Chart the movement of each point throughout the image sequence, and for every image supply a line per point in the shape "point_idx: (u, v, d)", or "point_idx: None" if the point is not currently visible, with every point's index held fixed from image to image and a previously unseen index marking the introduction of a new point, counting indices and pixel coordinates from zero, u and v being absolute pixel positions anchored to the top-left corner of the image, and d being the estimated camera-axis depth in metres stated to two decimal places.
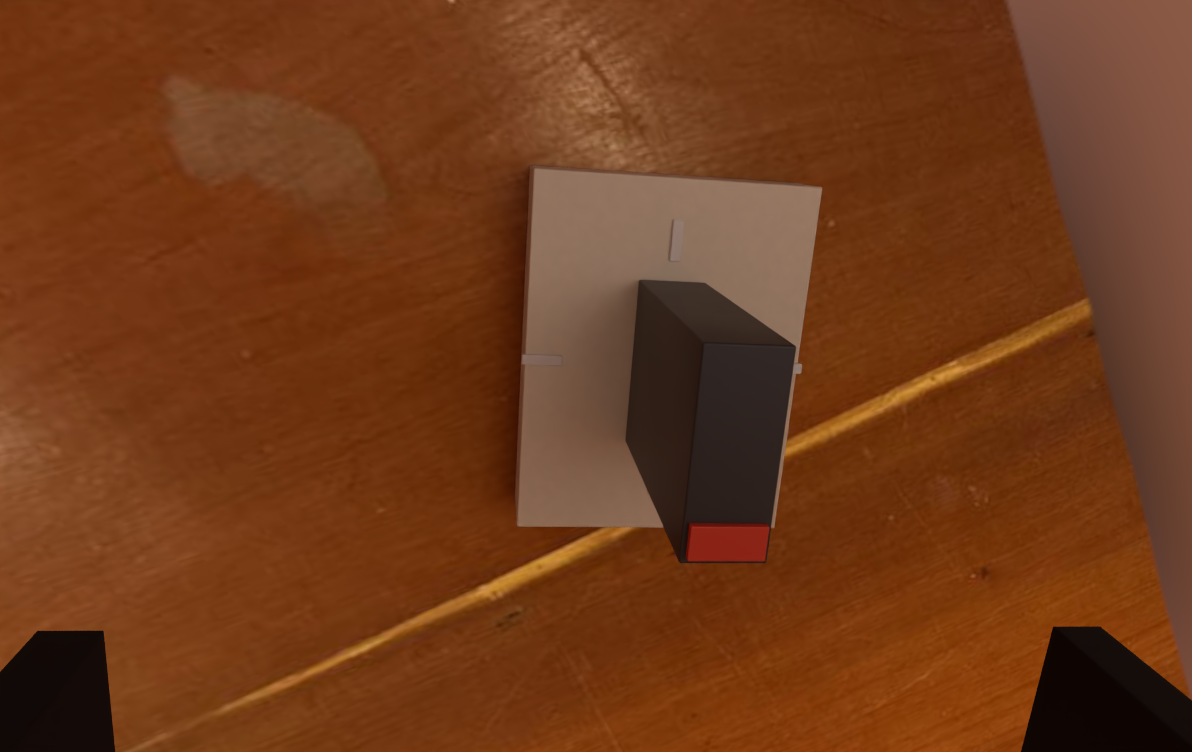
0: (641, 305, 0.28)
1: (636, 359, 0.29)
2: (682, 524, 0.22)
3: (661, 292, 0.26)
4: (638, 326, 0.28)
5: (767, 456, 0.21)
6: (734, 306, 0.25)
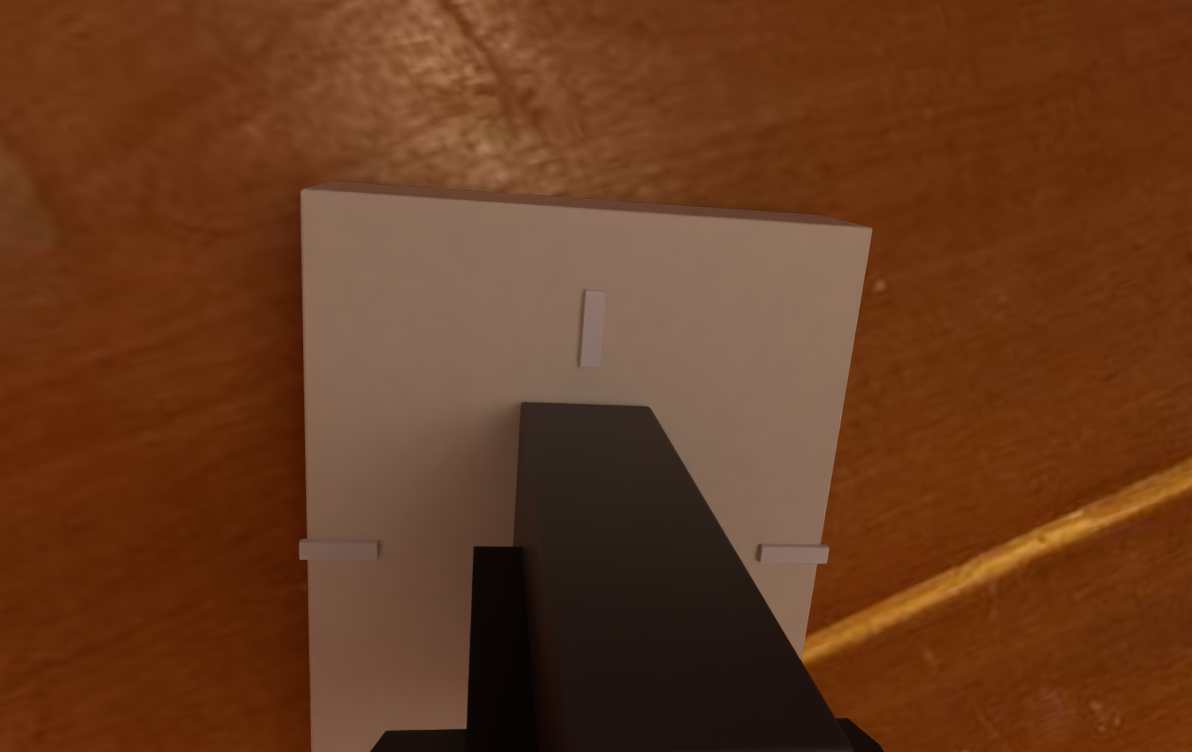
0: (520, 457, 0.14)
1: None
2: None
3: (547, 449, 0.13)
4: (517, 494, 0.15)
5: None
6: (694, 500, 0.11)
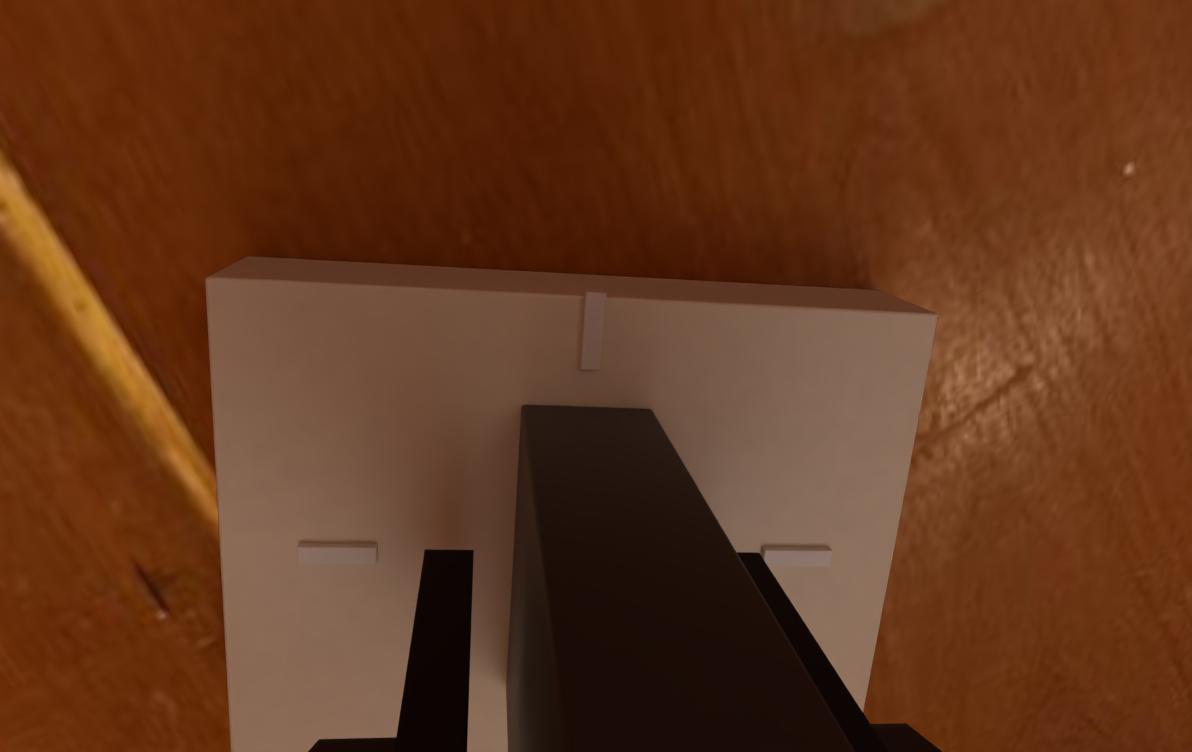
0: (521, 460, 0.14)
1: (515, 559, 0.15)
2: None
3: (548, 453, 0.13)
4: (518, 497, 0.15)
5: None
6: (697, 505, 0.11)
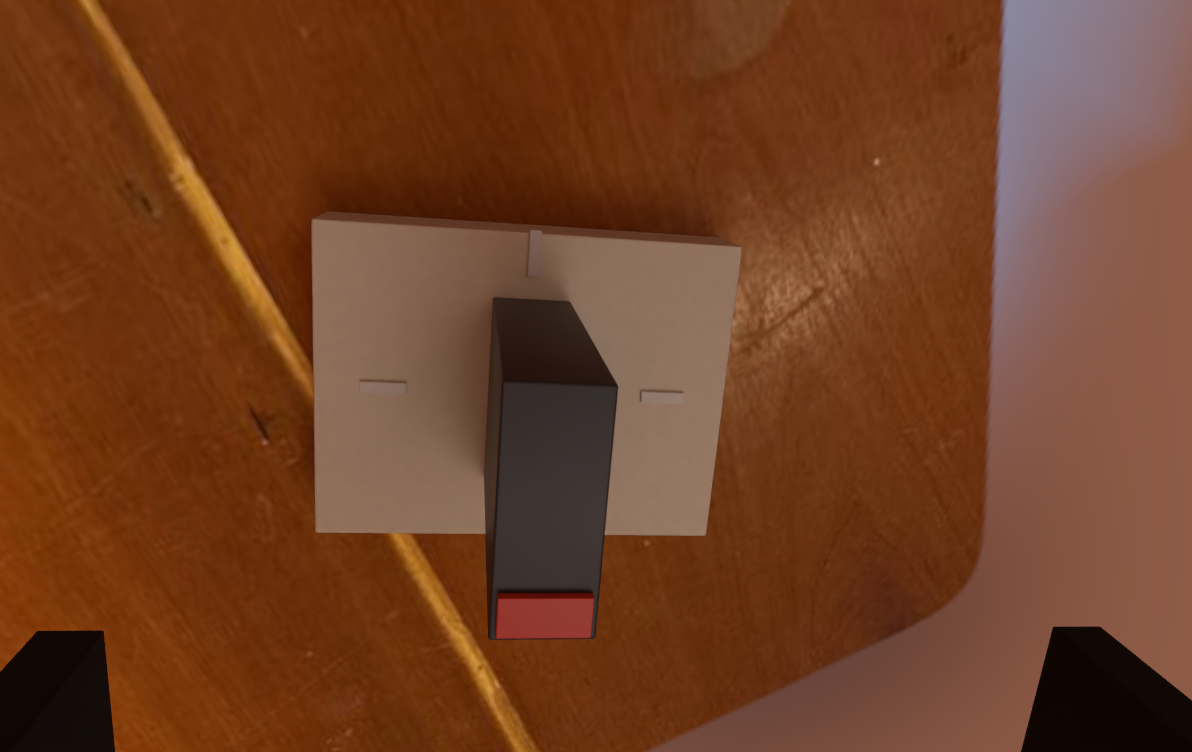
0: None
1: None
2: (490, 594, 0.18)
3: (505, 313, 0.23)
4: (490, 350, 0.25)
5: (589, 514, 0.18)
6: (581, 331, 0.22)
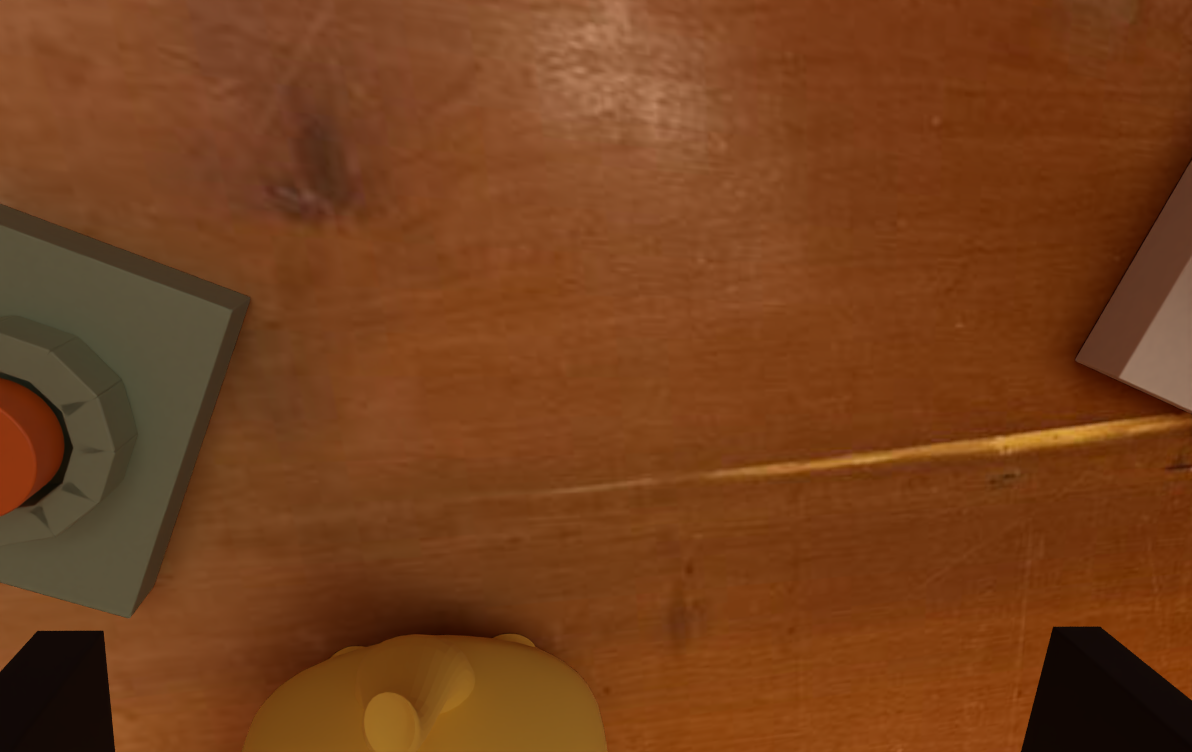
0: None
1: None
2: None
3: None
4: None
5: None
6: None
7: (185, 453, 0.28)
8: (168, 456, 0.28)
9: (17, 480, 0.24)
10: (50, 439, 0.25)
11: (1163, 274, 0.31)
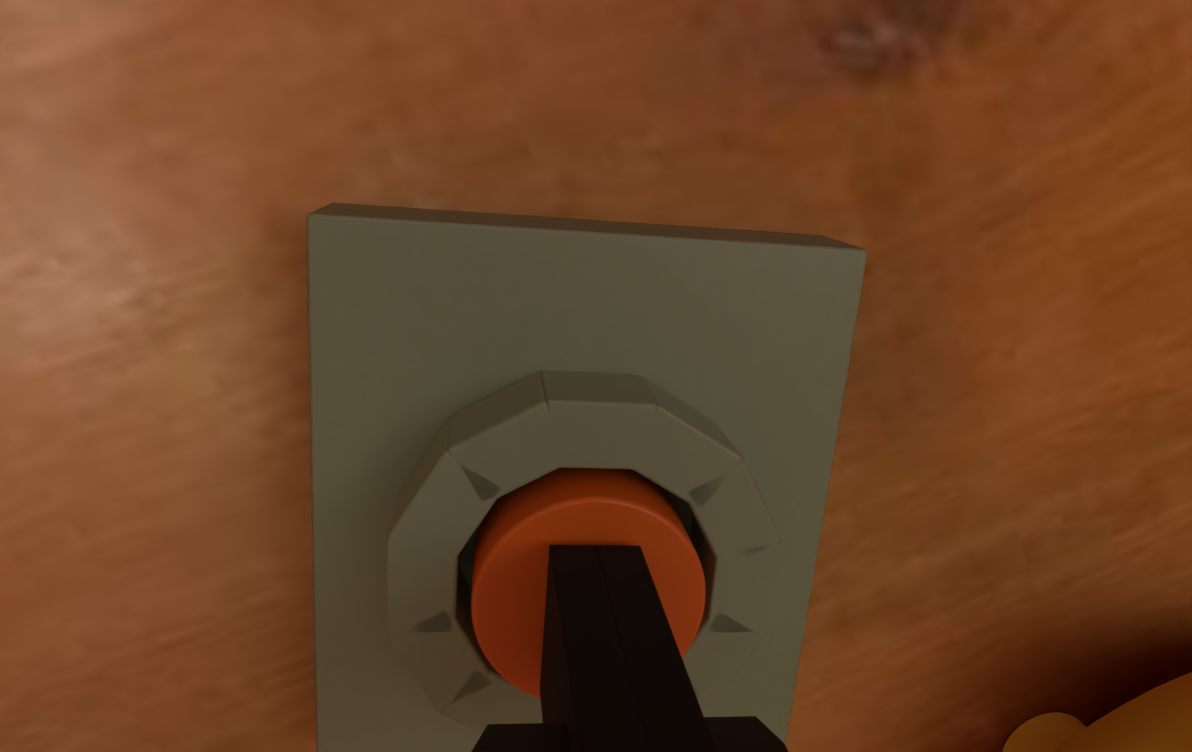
0: None
1: None
2: None
3: None
4: None
5: None
6: None
7: (822, 511, 0.17)
8: (801, 524, 0.17)
9: (680, 613, 0.14)
10: None
11: None
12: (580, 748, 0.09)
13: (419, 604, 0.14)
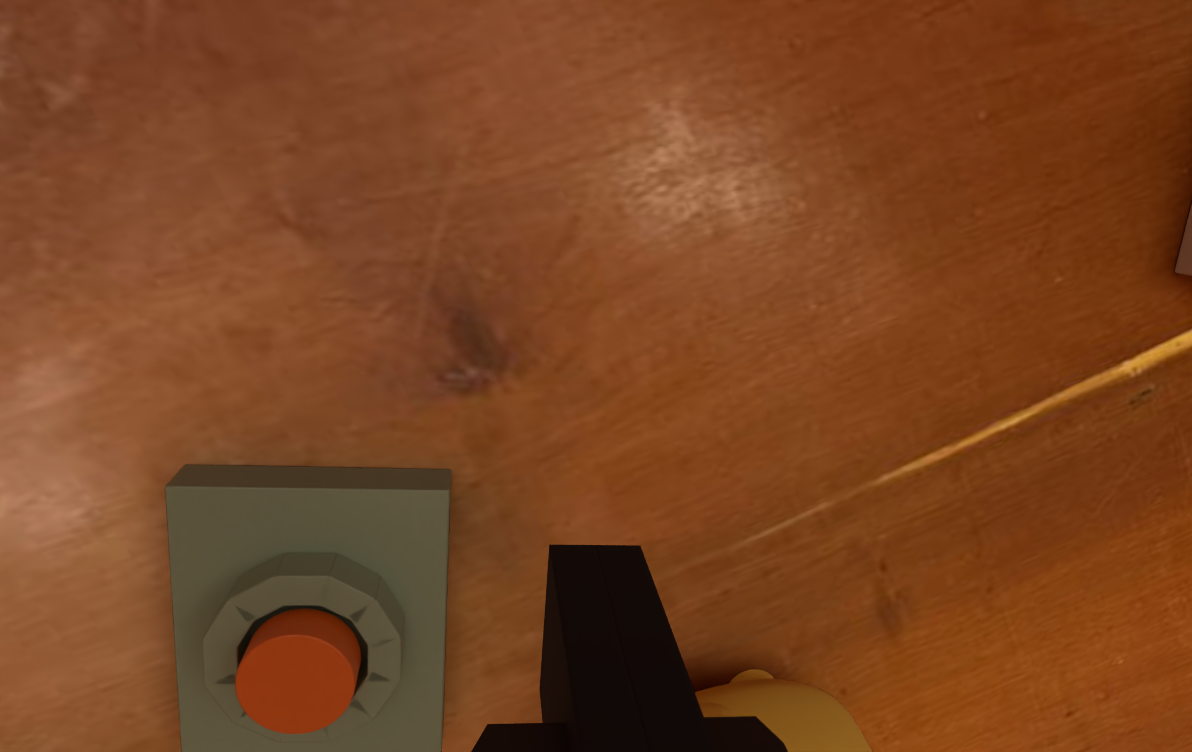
0: None
1: None
2: None
3: None
4: None
5: None
6: None
7: (445, 615, 0.32)
8: (433, 623, 0.32)
9: (341, 687, 0.29)
10: (351, 645, 0.30)
11: None
12: (580, 748, 0.09)
13: (219, 670, 0.30)
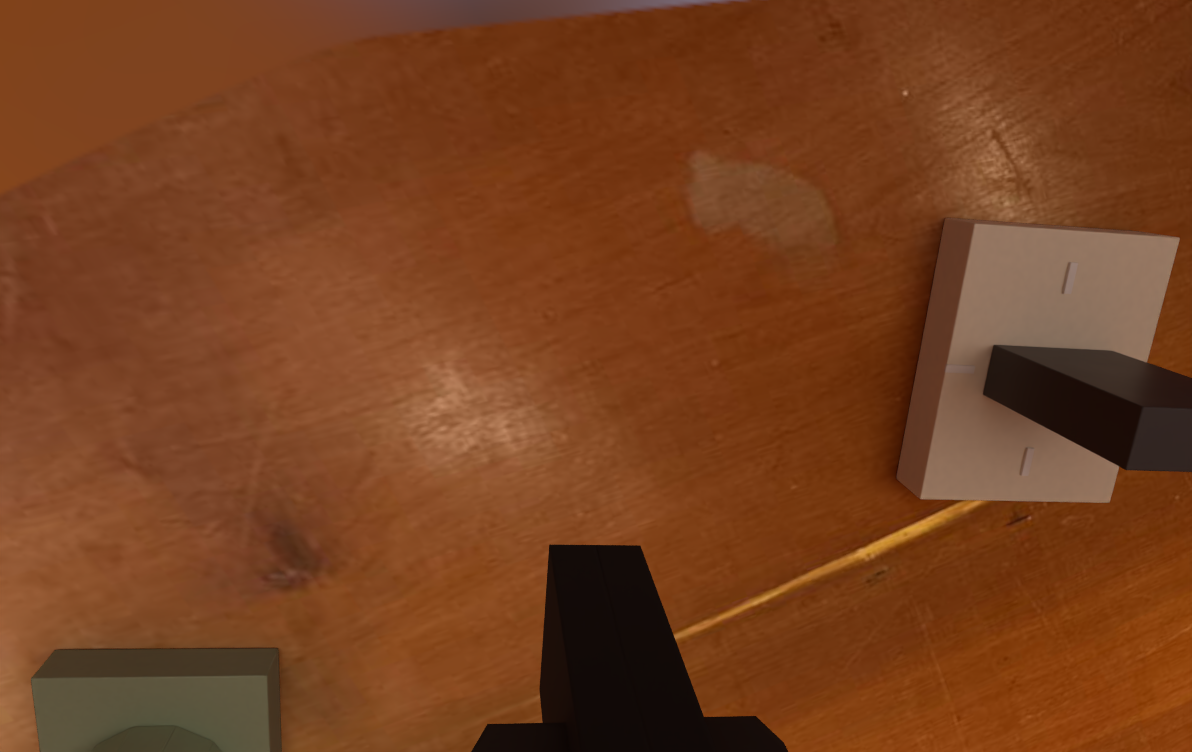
0: None
1: None
2: None
3: (1015, 404, 0.36)
4: None
5: None
6: (1052, 373, 0.34)
7: None
8: None
9: None
10: None
11: (928, 413, 0.39)
12: (580, 748, 0.09)
13: None
